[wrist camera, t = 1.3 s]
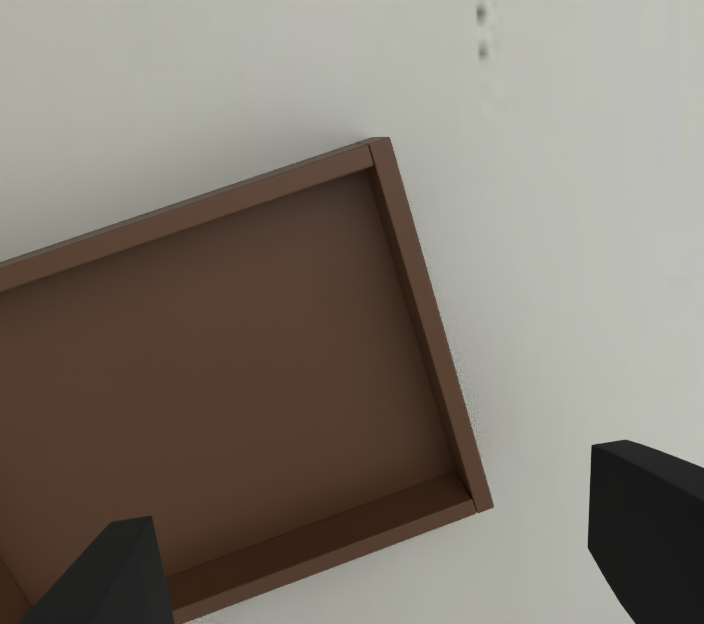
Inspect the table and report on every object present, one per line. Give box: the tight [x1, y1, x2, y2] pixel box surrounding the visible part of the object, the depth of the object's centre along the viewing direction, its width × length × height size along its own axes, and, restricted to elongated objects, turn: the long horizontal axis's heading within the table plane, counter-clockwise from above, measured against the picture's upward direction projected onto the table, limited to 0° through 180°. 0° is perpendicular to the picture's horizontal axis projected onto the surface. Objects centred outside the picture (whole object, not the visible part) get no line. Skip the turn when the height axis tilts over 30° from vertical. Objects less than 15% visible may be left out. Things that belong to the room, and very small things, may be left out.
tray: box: [0, 137, 494, 624], centre depth 18 cm, size 16×12×2 cm
